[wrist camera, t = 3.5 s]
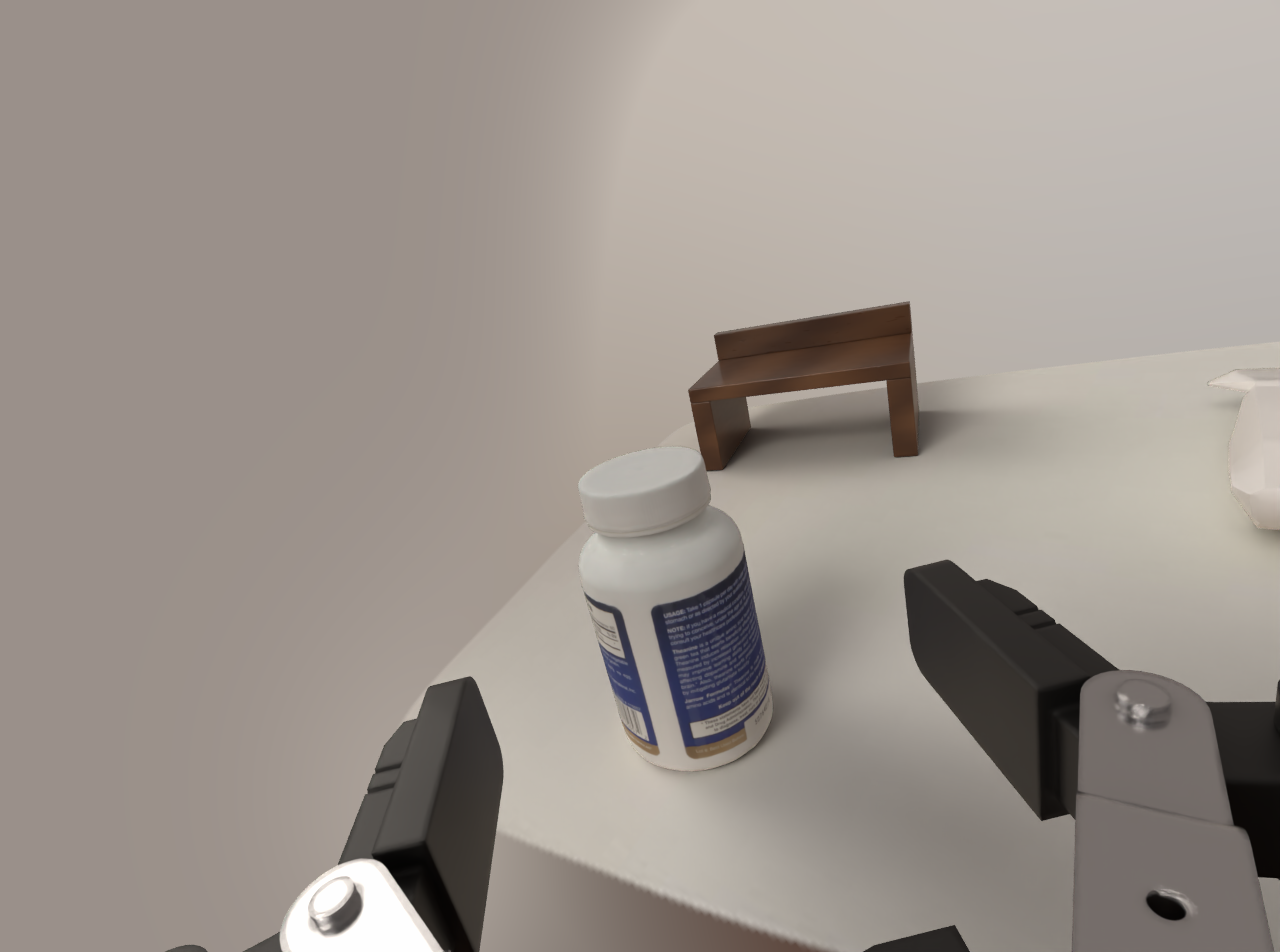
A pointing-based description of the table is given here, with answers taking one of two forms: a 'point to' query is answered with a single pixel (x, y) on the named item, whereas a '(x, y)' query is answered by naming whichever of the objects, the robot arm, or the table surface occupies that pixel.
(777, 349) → the shelf
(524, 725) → the table surface
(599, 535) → the pill bottle
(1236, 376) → the white flared handle
